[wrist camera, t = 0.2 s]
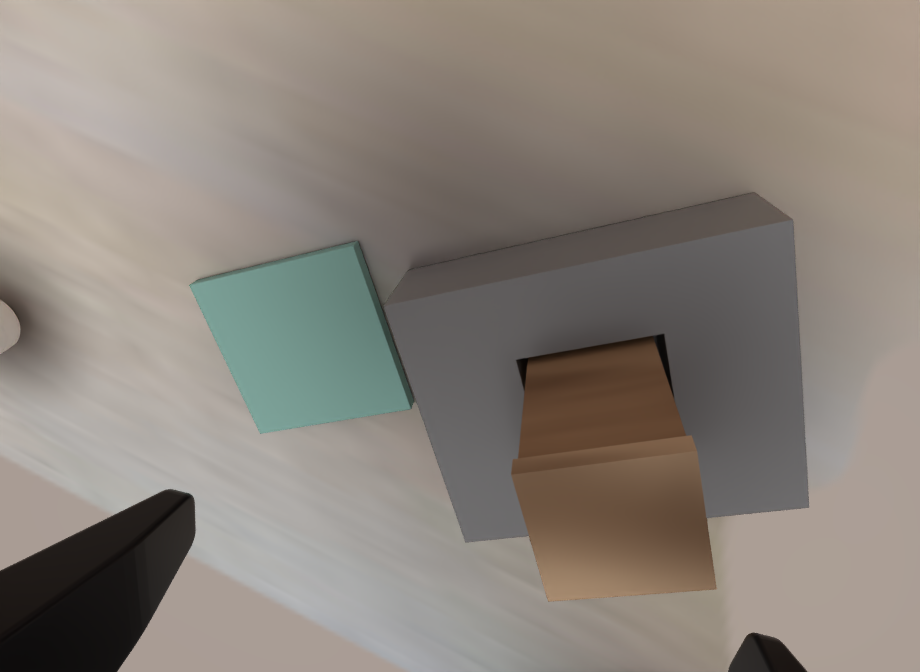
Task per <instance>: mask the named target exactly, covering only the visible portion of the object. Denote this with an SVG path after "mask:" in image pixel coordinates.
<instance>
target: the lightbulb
mask: <svg viewBox="0 0 920 672" xmlns="http://www.w3.org/2000/svg"><path fill="white" fill-rule="evenodd" d="M20 331H21V330H20V323H19V320H18V318H17V316H16V315H15V313H14V312H13V310H12V309H11V308H10V307H9V306H8V305H7V304H6V303H4V302H3V301H1V300H0V354H1V353H2V352H4V351H6V350H8V349H9V348H11V347H12V346H13V345H15V344H16V343H17V342H18V339H19V337H20Z"/></svg>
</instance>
